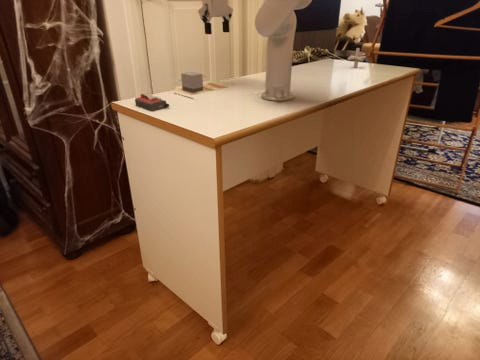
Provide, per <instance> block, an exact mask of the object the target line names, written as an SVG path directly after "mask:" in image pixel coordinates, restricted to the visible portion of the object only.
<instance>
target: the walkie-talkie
mask: <svg viewBox="0 0 480 360" xmlns="http://www.w3.org/2000/svg"><path fill="white" fill-rule="evenodd" d="M134 102H135V103H134V104H135V107H138V108H140V109H143V110H147V111H149V112H157V111H161V110H164V109H167V108H168V107H169V108H170V104H169V103H167V101H166V100H164V99H162V97H159V96H156V95H153V94H151V93H148V92H145V93H141V94H140V96H139V97H136V98H135V99H134Z"/></svg>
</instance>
